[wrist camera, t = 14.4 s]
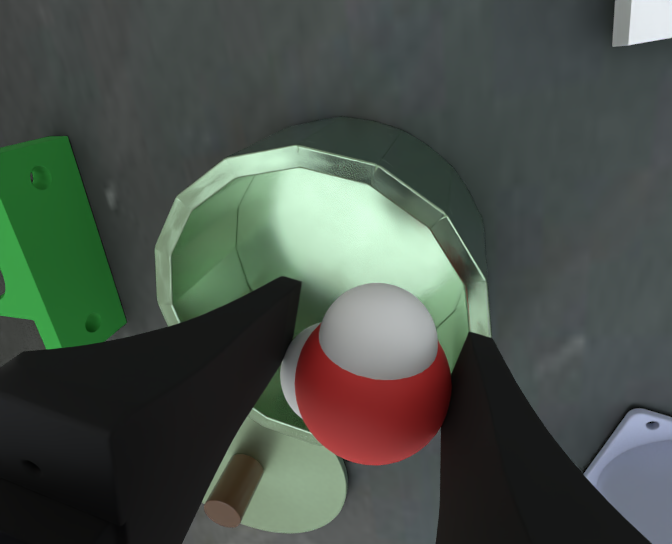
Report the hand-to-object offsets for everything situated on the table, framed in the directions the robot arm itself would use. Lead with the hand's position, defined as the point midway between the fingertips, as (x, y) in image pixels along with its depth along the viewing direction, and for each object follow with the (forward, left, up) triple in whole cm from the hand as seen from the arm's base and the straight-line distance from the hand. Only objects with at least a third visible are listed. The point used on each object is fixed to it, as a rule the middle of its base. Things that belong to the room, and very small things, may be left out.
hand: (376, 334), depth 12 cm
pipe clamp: (+18, +6, -9) cm, 21 cm away
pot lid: (+6, +19, -8) cm, 21 cm away
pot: (+2, +2, -8) cm, 9 cm away
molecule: (0, +1, -2) cm, 2 cm away
